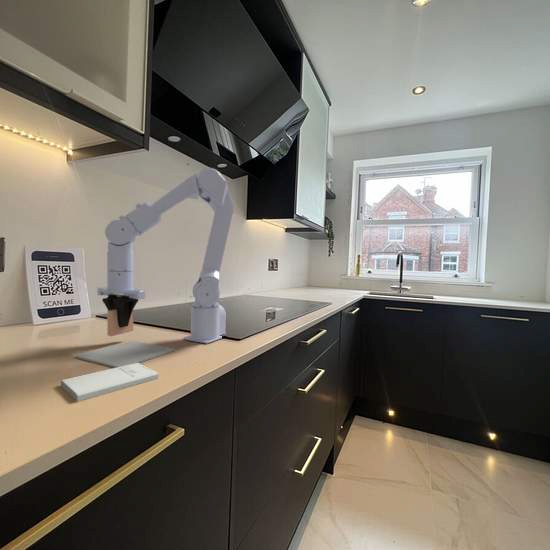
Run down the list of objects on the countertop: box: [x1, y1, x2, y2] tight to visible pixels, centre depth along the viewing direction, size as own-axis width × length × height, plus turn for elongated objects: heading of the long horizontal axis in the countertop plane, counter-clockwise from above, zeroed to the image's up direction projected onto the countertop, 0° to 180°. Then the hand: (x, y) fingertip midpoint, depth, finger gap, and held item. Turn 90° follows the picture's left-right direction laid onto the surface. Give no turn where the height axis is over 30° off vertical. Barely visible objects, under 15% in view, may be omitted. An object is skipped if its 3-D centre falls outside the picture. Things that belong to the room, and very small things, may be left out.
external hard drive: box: [60, 363, 159, 403], centre depth 50 cm, size 2×8×12 cm
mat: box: [74, 340, 176, 368], centre depth 65 cm, size 14×14×1 cm
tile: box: [106, 309, 134, 337], centre depth 73 cm, size 6×2×6 cm, turn 155°
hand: (120, 326), depth 73 cm, fingers closed on tile, 2 cm apart
